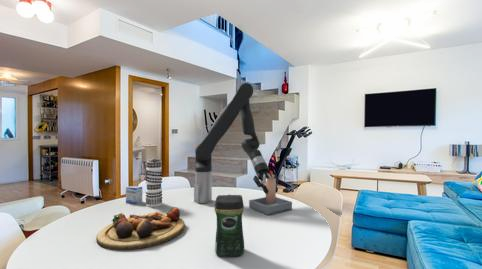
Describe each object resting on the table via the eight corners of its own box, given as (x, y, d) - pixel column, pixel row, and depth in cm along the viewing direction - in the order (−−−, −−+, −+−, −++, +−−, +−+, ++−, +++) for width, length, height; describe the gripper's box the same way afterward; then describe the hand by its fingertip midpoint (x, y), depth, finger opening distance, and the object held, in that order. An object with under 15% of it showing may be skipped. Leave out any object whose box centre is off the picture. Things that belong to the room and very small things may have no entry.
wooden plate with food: (180, 215, 117) (179, 197, 117) (190, 241, 87) (189, 218, 87) (105, 224, 106) (104, 206, 106) (86, 259, 76) (86, 233, 76)
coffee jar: (243, 246, 84) (243, 192, 84) (244, 258, 76) (244, 198, 76) (215, 246, 84) (215, 192, 84) (213, 258, 76) (213, 198, 76)
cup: (270, 203, 122) (270, 179, 122) (263, 201, 127) (263, 178, 127) (277, 202, 125) (277, 178, 125) (271, 199, 130) (270, 177, 130)
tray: (268, 215, 115) (268, 207, 115) (249, 207, 128) (249, 200, 128) (291, 209, 124) (291, 201, 124) (272, 202, 137) (272, 195, 137)
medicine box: (125, 202, 137) (125, 187, 137) (131, 200, 142) (131, 185, 142) (137, 203, 135) (137, 188, 135) (142, 201, 139) (142, 186, 139)
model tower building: (144, 203, 136) (144, 158, 136) (161, 201, 140) (161, 157, 140) (145, 207, 128) (145, 159, 128) (163, 205, 132) (163, 159, 132)
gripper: (250, 162, 130) (262, 189, 119) (273, 161, 136) (286, 186, 125) (246, 171, 135) (257, 198, 124) (268, 169, 141) (280, 194, 130)
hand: (271, 192), depth 125 cm, fingers closed on cup, 5 cm apart
